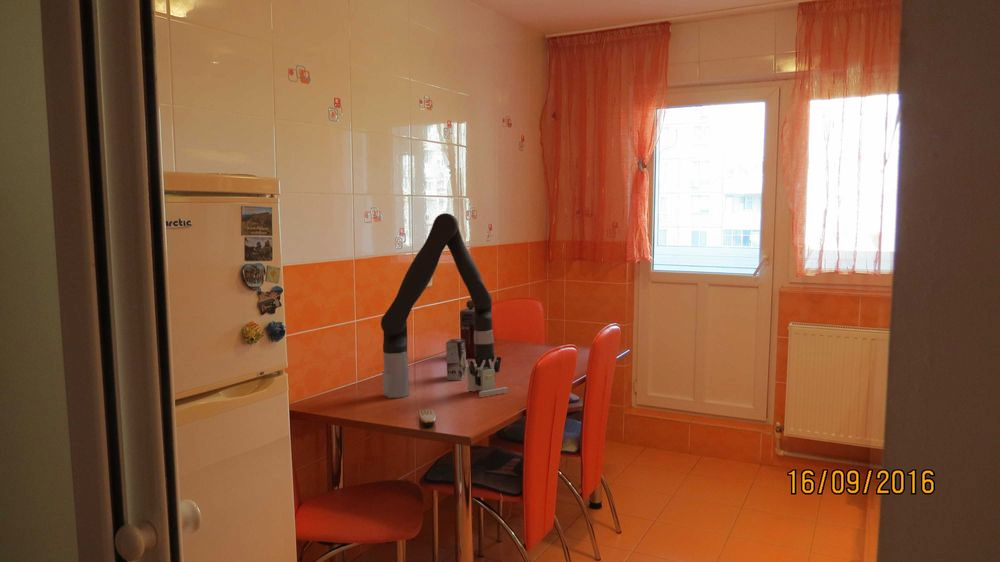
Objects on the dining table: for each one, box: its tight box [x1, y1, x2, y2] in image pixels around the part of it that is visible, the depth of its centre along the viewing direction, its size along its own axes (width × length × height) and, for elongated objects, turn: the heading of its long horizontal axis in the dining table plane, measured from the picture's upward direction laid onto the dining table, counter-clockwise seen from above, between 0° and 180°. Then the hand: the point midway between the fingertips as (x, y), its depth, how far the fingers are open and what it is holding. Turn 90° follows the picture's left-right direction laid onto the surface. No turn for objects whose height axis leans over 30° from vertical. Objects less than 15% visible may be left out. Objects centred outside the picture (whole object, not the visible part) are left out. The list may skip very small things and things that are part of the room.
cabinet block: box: [476, 367, 496, 392], centre depth 271 cm, size 5×7×8 cm
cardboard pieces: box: [465, 362, 509, 398], centre depth 270 cm, size 12×11×10 cm
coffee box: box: [445, 338, 467, 381], centre depth 297 cm, size 9×6×16 cm
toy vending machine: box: [459, 299, 475, 358], centre depth 339 cm, size 9×11×28 cm
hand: (485, 384), depth 271 cm, fingers open, 5 cm apart
